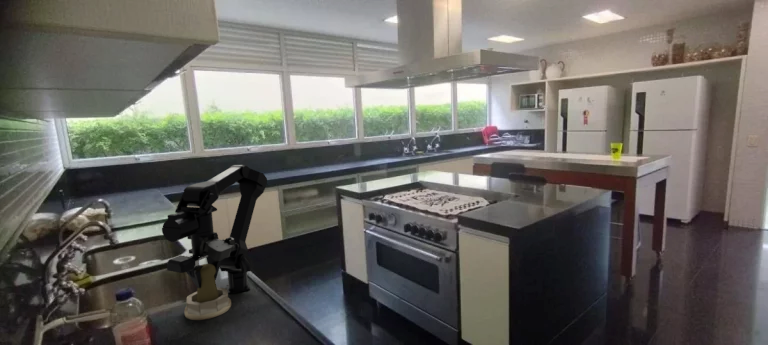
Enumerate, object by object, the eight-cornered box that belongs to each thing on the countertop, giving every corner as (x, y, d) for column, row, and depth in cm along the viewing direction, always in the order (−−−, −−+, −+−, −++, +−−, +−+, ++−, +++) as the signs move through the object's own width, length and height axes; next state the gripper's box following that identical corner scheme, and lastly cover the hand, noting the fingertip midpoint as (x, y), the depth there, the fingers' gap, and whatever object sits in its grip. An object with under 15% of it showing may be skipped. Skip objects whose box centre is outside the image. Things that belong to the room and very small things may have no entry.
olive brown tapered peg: (223, 297, 106) (220, 261, 105) (213, 307, 100) (210, 269, 99) (202, 297, 106) (199, 261, 105) (192, 307, 100) (188, 269, 99)
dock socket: (185, 305, 106) (183, 292, 105) (229, 295, 111) (228, 283, 111) (184, 324, 95) (182, 310, 95) (233, 312, 101) (232, 299, 100)
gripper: (194, 243, 89) (199, 304, 91) (249, 224, 106) (252, 275, 108) (162, 239, 93) (168, 296, 95) (220, 221, 110) (224, 270, 112)
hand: (206, 283), depth 102 cm, fingers closed on olive brown tapered peg, 5 cm apart
